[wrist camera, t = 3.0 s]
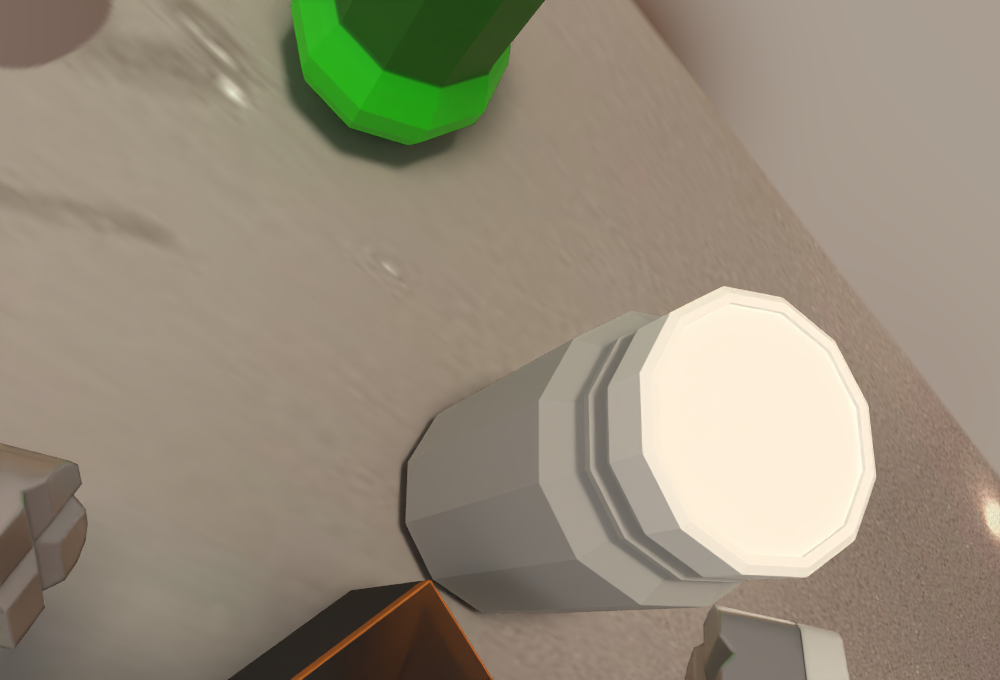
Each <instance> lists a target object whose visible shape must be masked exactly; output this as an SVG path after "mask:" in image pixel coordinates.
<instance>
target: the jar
mask: <svg viewBox="0 0 1000 680" xmlns="http://www.w3.org/2000/svg"><path fill="white" fill-rule="evenodd" d="M875 479H876V470H875V461H874V452H873V443H872V434H871V425H870V416H869V407H868V404H867V402H866V400H865V398H864V396H863V394H862V392H861V390H860V388H859V386H858V385H857V383H856V381H855V379H854V377H853V375H852V373H851V371H850V369H849V367H848V365H847V364H846V362H845V360H844V358H843V356H842V354H841V352H840V350H839V348H838V346H837V344H836V342H835V341H834V340H833V339H832V338H831V337H829V336H828V335H827V334H826V333H825V332H823V331H822V330H821V329H820V328H819V327H817V326H816V325H815V324H814V323H813V322H811V321H810V320H809V319H808V318H807V317H805V316H804V315H803V314H802V313H801V312H799V311H798V310H797V309H796V308H795V307H793V306H792V305H791V304H790V303H789V302H787V301H786V300H785V299H784V298H782V297H777V296H772V295H766V294H761V293H756V292H751V291H746V290H740V289H735V288H730V287H725V286H723V287H721V288H719V289H717V290H715V291H713V292H711V293H709V294H707V295H704V296H702V297H700V298H698V299H696V300H694V301H692V302H690V303H688V304H686V305H684V306H682V307H680V308H678V309H676V310H674V311H672V312H670V313H668V314H666V315H664V316H657V315H651V314H645V313H640V312H634V311H630V312H628V313H626V314H624V315H622V316H619V317H617V318H615V319H613V320H611V321H609V322H607V323H605V324H603V325H601V326H599V327H596V328H594V329H592V330H590V331H588V332H586V333H584V334H582V335H580V336H578V337H576V338H573V339H572V340H570V341H568V342H566V343H565V344H563V345H561V346H559V347H557V348H556V349H554V350H552V351H550V352H548V353H547V354H545V355H543V356H541V357H539V358H538V359H536V360H534V361H532V362H530V363H529V364H527V365H525V366H523V367H521V368H520V369H518V370H516V371H514V372H512V373H511V374H509V375H507V376H505V377H503V378H502V379H500V380H498V381H496V382H494V383H493V384H491V385H489V386H487V387H485V388H484V389H482V390H480V391H478V392H476V393H475V394H473V395H471V396H469V397H467V398H466V399H464V400H462V401H460V402H458V403H457V404H455V405H453V406H451V407H449V408H448V409H446V410H444V411H442V412H440V413H439V414H437V416H436V417H435V419H434V421H433V422H432V424H431V426H430V427H429V429H428V430H427V432H426V434H425V435H424V437H423V438H422V440H421V442H420V443H419V445H418V446H417V448H416V450H415V451H414V453H413V455H412V456H411V458H410V459H409V461H408V471H407V496H406V521H405V523H406V525H407V528H408V530H409V532H410V534H411V536H412V538H413V540H414V542H415V544H416V546H417V548H418V550H419V552H420V554H421V556H422V558H423V560H424V563H425V565H426V567H427V569H428V571H429V573H430V575H431V577H432V579H433V580H434V581H436V582H437V583H439V584H440V585H442V586H443V587H445V588H446V589H448V590H449V591H451V592H452V593H453V594H455V595H456V596H458V597H459V598H461V599H462V600H464V601H465V602H467V603H468V604H470V605H471V606H472V607H474V608H475V609H477V610H478V611H480V612H483V613H529V614H539V613H565V612H591V611H617V610H643V609H669V608H694V607H710V606H711V605H713V604H714V603H715V602H717V601H718V600H719V599H721V598H722V597H723V596H725V595H726V594H728V593H729V592H730V591H732V590H733V589H734V588H736V587H737V586H738V585H740V584H741V583H744V582H745V581H746V580H748V579H754V580H774V579H790V578H806V577H808V576H809V575H810V574H812V573H813V572H814V571H816V570H817V569H818V568H819V567H821V566H822V565H823V564H825V563H826V562H827V561H829V560H830V559H831V558H832V557H834V556H835V555H836V554H838V553H839V552H840V551H842V550H843V549H844V548H846V547H847V546H848V545H849V544H851V543H852V542H853V541H855V538H856V535H857V532H858V529H859V527H860V524H861V521H862V518H863V515H864V512H865V509H866V506H867V503H868V500H869V497H870V494H871V491H872V488H873V485H874V482H875Z"/></svg>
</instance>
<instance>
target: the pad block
mask: <svg viewBox="0 0 1000 680" xmlns="http://www.w3.org/2000/svg"><path fill="white" fill-rule="evenodd" d="M229 680H493V679H492V677H491V675H490V674H489V672H488V671H487V669H486V667H485V666H484V664H483V663H482V661H481V659H480V658H479V656H478V655H477V653H476V651H475V650H474V648H473V647H472V645H471V644H470V642H469V640H468V639H467V637H466V636H465V634H464V632H463V631H462V629H461V628H460V626H459V624H458V623H457V621H456V620H455V618H454V616H453V615H452V613H451V612H450V610H449V608H448V607H447V605H446V604H445V602H444V600H443V599H442V597H441V596H440V594H439V592H438V591H437V589H436V588H435V586H434V584H433V583H432V581H431V580H425V581H417V582H410V583H403V584H395V585H388V586H380V587H373V588H365V589H358V590H351V591H350V592H349V593H347V594H346V595H344V596H343V597H342V598H340V599H339V600H338V601H336V602H335V603H333V604H332V605H331V606H329V607H328V608H326V609H325V610H324V611H322V612H321V613H320V614H318V615H317V616H315V617H314V618H313V619H311V620H310V621H309V622H307V623H306V624H304V625H303V626H302V627H300V628H299V629H298V630H296V631H295V632H293V633H292V634H291V635H289V636H288V637H286V638H285V639H284V640H282V641H281V642H280V643H278V644H277V645H275V646H274V647H273V648H271V649H270V650H269V651H267V652H266V653H264V654H263V655H262V656H260V657H259V658H258V659H256V660H255V661H253V662H252V663H251V664H249V665H248V666H246V667H245V668H244V669H242V670H241V671H240V672H238V673H237V674H235V675H234V676H233V677H231V678H230V679H229Z"/></svg>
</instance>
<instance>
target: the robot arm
mask: <svg viewBox="0 0 1000 680" xmlns="http://www.w3.org/2000/svg"><path fill="white" fill-rule="evenodd" d="M81 484H82V482H81V477H80V472H79V467H78V464H76V463H73V462H71V461H69V460H65V459H61V458H57V457H53V456H49V455H45V454H41V453H37V452H33V451H29V450H25V449H21V448H17V447H13V446H9V445H5V444H1V443H0V647H2V648H7V649H12V650H14V649H15V648H16V646H17V645H18V644H19V642H20V641H21V640H22V638H23V637H24V635H25V634H26V633H27V631H28V630H29V629H30V627H31V626H32V624H33V623H34V622H35V620H36V619H37V618H38V616H39V615H40V613H41V612H42V611H43V609H44V608H45V605H44V596H43V591H44V590H46V589H48V588H50V587H52V586H54V585H56V584H58V583H60V582H62V581H64V580H65V579H66V577H67V576H68V574H69V573H70V572H71V570H72V569H73V567H74V566H75V564H76V563H77V561H78V558H79V556H80V553H81V551H82V548H83V546H84V543H85V541H86V533H87V524H88V523H87V515H86V509H85V508H84V507H83V505H82V504H81V503H80V502H79V501H78V500H77V498H76V497H75V496H74V495H73V494H74V493H75V492H76V491H77V489H78V488H79V487H80V485H81ZM685 680H850V679H849V673H848V668H847V662H846V656H845V651H844V645H843V640H842V638H841V637H840V635H839V633H838V632H836V631H831V630H826V629H822V628H817V627H813V626H808V625H804V624H799V623H795V624H794V623H793V622H792V621H787V620H782V619H777V618H773V617H768V616H763V615H759V614H754V613H749V612H745V611H740V610H735V609H731V608H726V607H721V606H717V605H714V606H713V607H712V608H711V610H710V611H709V613H708V615H707V618H706V620H705V622H704V643H703V644H701V645H699V646H697V647H695V648H694V650H693V652H692V655H691V658H690V661H689V663H688V666H687V671H686V676H685Z"/></svg>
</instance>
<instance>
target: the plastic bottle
mask: <svg viewBox="0 0 1000 680" xmlns="http://www.w3.org/2000/svg"><path fill="white" fill-rule="evenodd" d="M544 1H545V0H292V2H291V5H290V6H291V12H292V17H293V23H294V29H295V34H296V40H297V45H298V51H299V57H300V62H301V68H302V72H303V76H304V80H305V81H306V82H307V83H308V85H309V86H310V87H311V88H312V89H313V90H314V91H315V92H316V93H317V94H318V95H319V96H320V97H321V98H322V99H323V100H324V102H325V103H326V104H327V105H328V106H329V107H330V108H331V109H332V110H333V111H334V112H335V113H336V114H337V115H338V116H339V117H340V118H341V120H342V121H343V122H344V123H345V124H346V125H347V126H348V127H349V128H352V129H356V130H359V131H362V132H366V133H369V134H372V135H375V136H379V137H382V138H385V139H389V140H392V141H395V142H399V143H402V144H405V145H412V144H416V143H420V142H423V141H426V140H429V139H432V138H435V137H438V136H440V135H443V134H446V133H449V132H452V131H455V130H458V129H461V128H464V127H467V126H470V125H473V124H474V123H475V122H476V121H477V120H478V118H479V117H480V116H481V115H482V114H483V113H484V111H485V109H486V107H487V105H488V103H489V101H490V99H491V97H492V95H493V93H494V91H495V89H496V87H497V85H498V83H499V81H500V79H501V77H502V75H503V73H504V71H505V69H506V67H507V65H508V61H509V54H510V44H511V42H512V41H513V40H514V39H515V37H516V36H517V35H518V34H519V32H520V31H521V30H522V28H523V27H524V26H525V25H526V23H527V22H528V21H529V20H530V18H531V17H532V16H533V15H534V13H535V12H536V11H537V9H538V8H539V7H540V6H541V4H542V3H543V2H544Z"/></svg>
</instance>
